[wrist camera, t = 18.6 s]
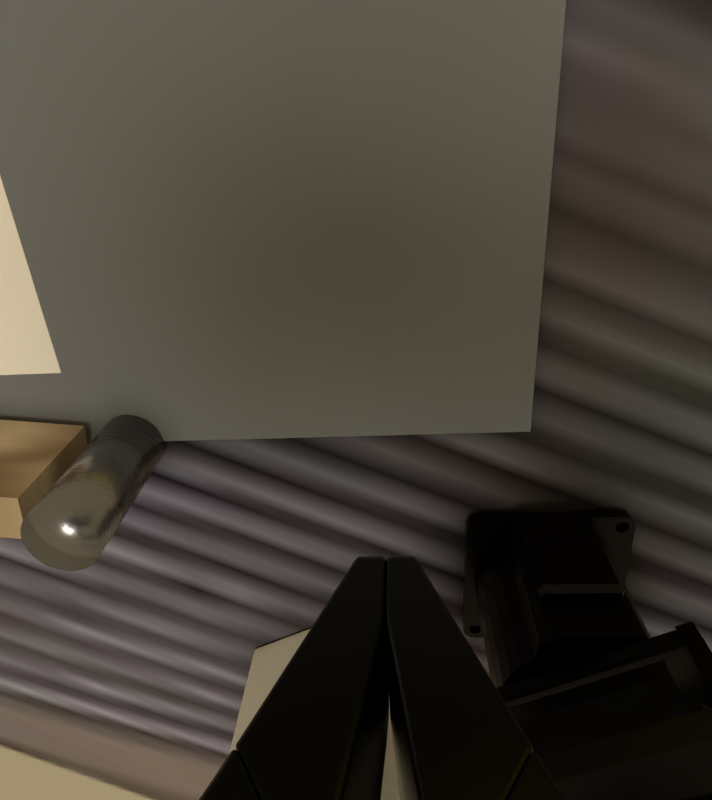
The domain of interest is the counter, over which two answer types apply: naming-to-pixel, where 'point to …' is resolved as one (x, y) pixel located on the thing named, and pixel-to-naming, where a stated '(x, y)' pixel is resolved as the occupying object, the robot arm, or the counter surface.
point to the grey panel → (275, 213)
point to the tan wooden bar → (32, 466)
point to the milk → (263, 678)
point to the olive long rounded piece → (93, 494)
